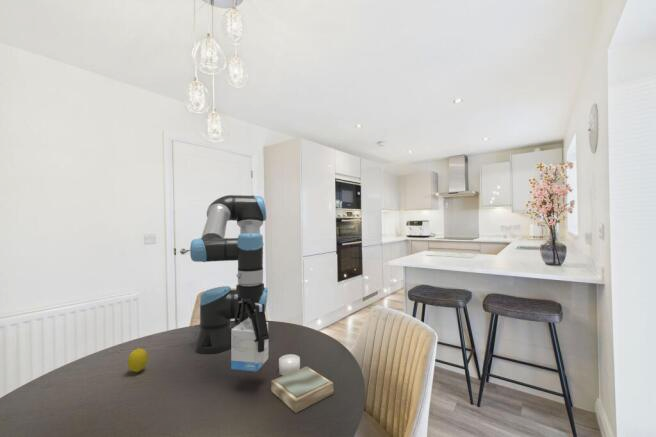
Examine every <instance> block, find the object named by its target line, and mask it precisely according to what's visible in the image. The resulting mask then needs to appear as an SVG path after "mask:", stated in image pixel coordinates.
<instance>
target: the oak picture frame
mask: <svg viewBox="0 0 656 437" xmlns="http://www.w3.org/2000/svg"><path fill="white" fill-rule="evenodd" d="M270 387H271V389H270V391H271V392H272V393H273V394H274V395H275V396H276V397H279V398H278V399H280V400H281V401H282V402H283V403H284V404H285V405H286V406H288V408H290V409H291V410H292V411H293V412H294V413H295V414H297V413H299V412H301V411H303V410H304V409H306V408H309V407H310V406H311V405H312V406H313V405H314V404H316V403H318V402H320V401H322V400H324V399H326V398H328V397H329V396H331V395H333V394H334V382H333V381H331V380H330V379H327V377H324V376H323V375H321V374H320V373H318V372H317V371H315V370H314V369H312V368H310V367H309V366H304V367H302V368H301V367H300V369H299V370H296V371H294V372H292V373H289V374H287V375H284V376H283V375H281V376H279V377H277V378H275V379H272V380H271V381H270Z"/></svg>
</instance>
